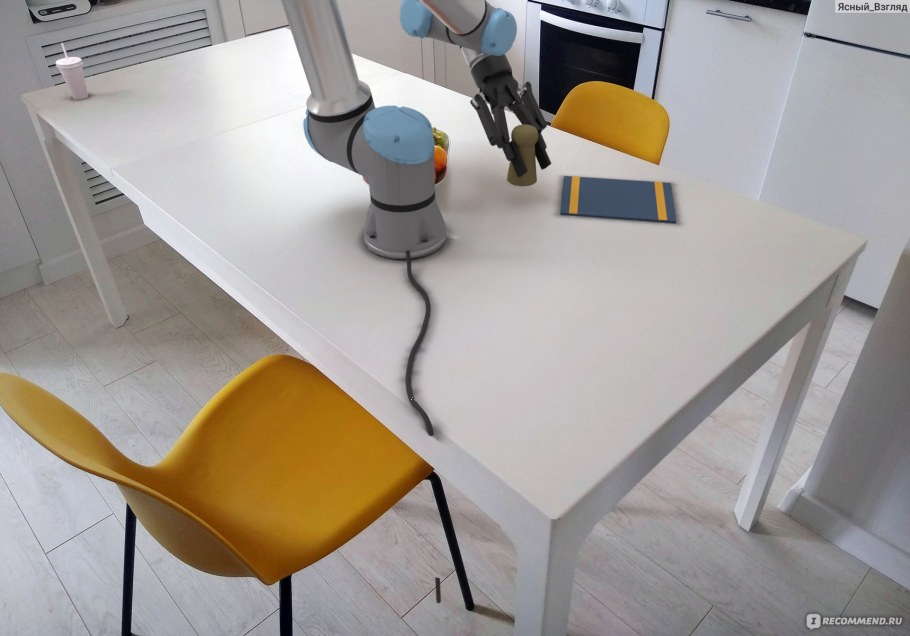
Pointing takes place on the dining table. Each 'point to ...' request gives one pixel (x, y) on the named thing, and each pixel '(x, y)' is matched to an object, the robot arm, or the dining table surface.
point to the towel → (617, 199)
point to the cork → (524, 155)
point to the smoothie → (73, 75)
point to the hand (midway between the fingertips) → (534, 170)
